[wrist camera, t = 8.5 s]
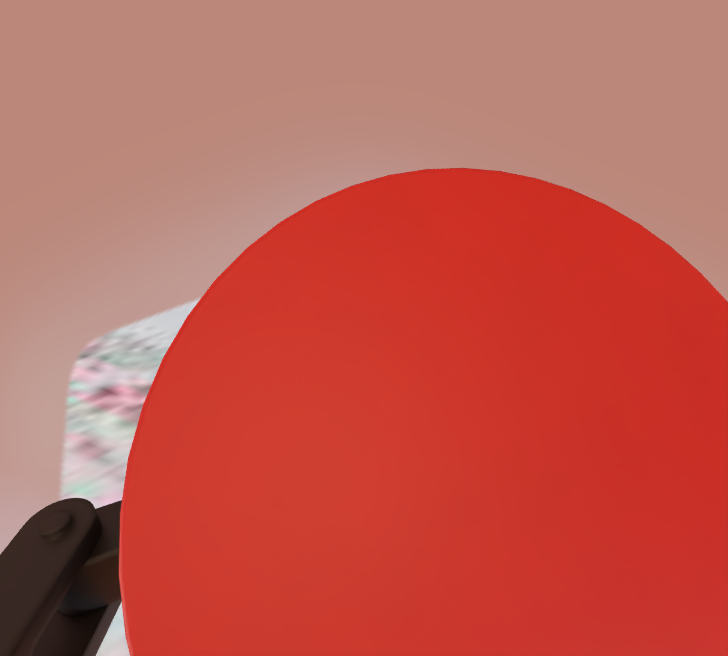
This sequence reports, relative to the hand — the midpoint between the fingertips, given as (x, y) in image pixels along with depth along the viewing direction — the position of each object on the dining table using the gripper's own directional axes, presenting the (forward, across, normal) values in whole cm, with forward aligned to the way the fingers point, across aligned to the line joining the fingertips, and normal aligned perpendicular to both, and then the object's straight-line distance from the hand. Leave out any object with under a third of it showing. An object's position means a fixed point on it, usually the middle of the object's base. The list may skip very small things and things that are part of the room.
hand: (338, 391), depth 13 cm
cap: (-7, 0, -4) cm, 8 cm away
